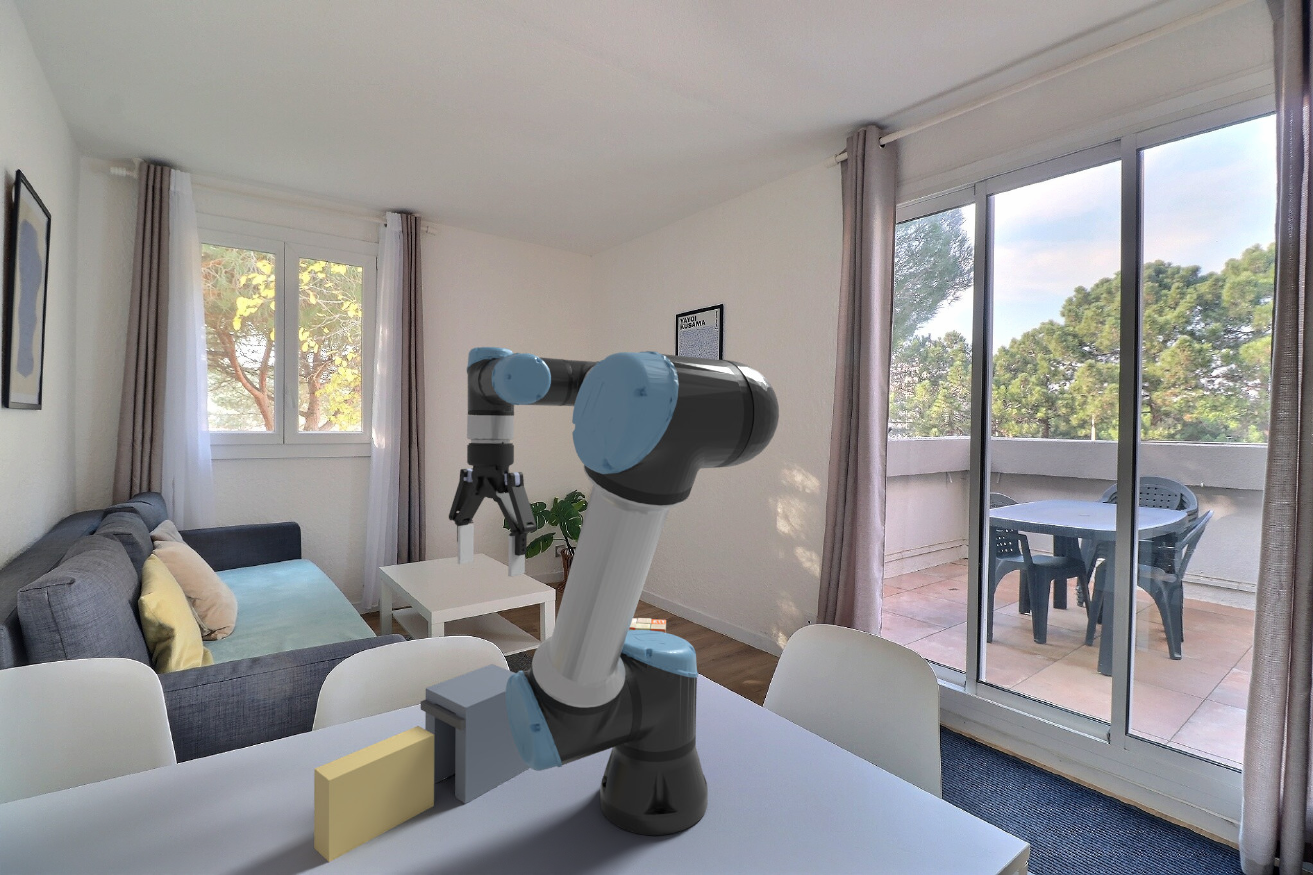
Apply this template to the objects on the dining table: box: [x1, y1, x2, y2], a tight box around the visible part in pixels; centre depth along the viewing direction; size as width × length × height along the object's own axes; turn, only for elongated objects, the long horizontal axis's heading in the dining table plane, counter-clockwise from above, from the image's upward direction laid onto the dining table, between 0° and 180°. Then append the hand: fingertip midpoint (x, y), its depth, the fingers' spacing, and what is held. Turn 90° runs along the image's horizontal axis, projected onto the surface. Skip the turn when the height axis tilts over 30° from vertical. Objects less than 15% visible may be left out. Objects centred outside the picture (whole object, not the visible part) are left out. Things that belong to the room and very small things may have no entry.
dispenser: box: [420, 663, 531, 805], centre depth 92 cm, size 10×13×14 cm
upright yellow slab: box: [313, 725, 435, 863], centre depth 80 cm, size 4×14×10 cm, turn 142°
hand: (490, 568), depth 102 cm, fingers open, 13 cm apart
